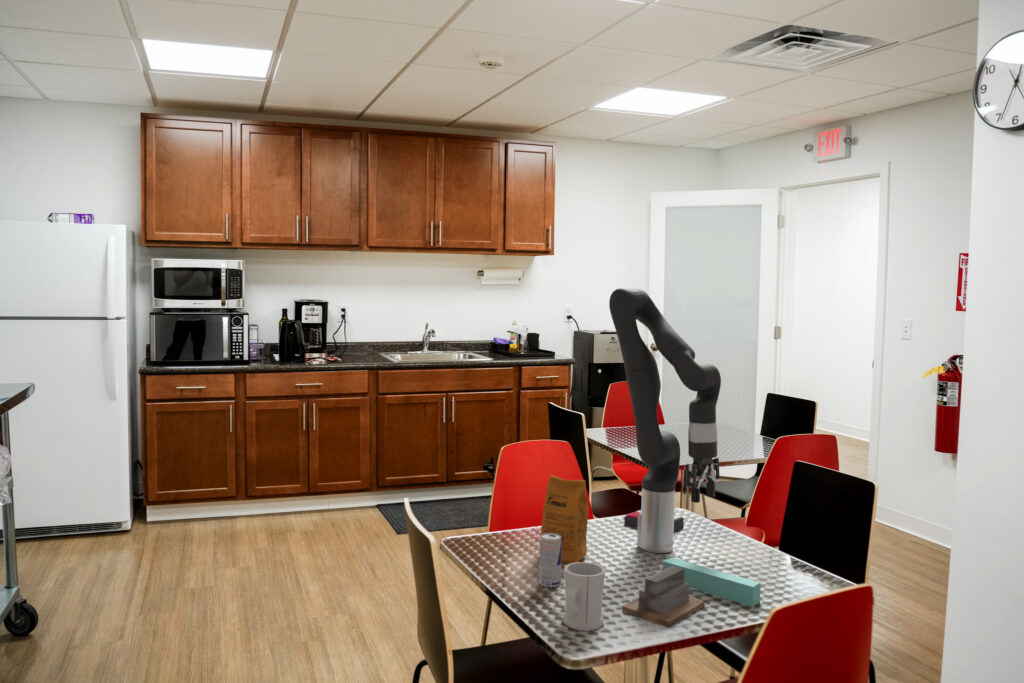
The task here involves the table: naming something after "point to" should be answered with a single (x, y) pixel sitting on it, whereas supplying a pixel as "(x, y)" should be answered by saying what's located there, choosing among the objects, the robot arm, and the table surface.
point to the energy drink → (550, 560)
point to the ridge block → (664, 598)
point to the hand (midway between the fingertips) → (703, 499)
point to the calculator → (633, 517)
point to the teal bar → (718, 582)
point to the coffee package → (567, 516)
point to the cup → (583, 596)
